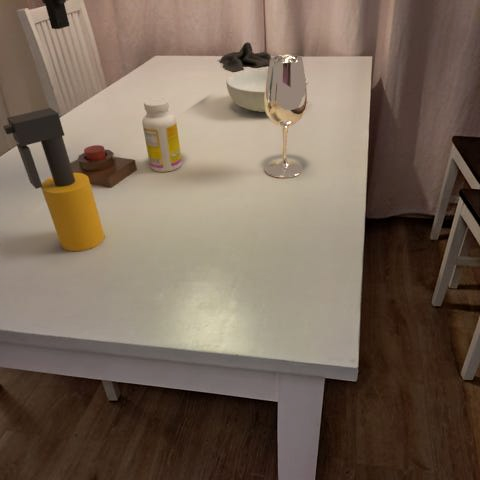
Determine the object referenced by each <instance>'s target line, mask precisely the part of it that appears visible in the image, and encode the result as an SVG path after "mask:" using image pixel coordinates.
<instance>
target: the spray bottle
mask: <svg viewBox="0 0 480 480" xmlns="http://www.w3.org/2000/svg"><path fill="white" fill-rule="evenodd" d="M6 119H7V122H8V124H5V125H3V126H2V127H3V131H4V133H5V134H6V135H10V134H12V137H13V139H14V141H15V142H16V143H17V144H20V145H21V146H25V145H27V146H29V145H33V144H37V143H40V144H41V147H42V149H43V152H44V155H45V159H46V162H47V165H48V167H49V171H50V174H51V176H50V177H49V178H48V177H47V179H45V180H44V181H43V182H41V183H42V186H43V187H41V191H42V194H43V197H44V200H45V203H46V205H47V209H48V211H49V214H50V217H51V220H52V222H53V225H54V229H55V232H56V234H57V237H58V240H59V243H60V246H61V247H62V249H64V250H66V251H69V252H83V251H87V250H91V249H94V248H95V247H97V246H99V245H100V244H101V243H102V242H103V241H104V240H105V233H104V229H103V225H102V222H101V218H100V215H99V211H98V208H97V207H98V206H97V204H96V200H95V196H94V192H93V189H92V185H91V184H90V181H89V178H88V176H87V175H85V174H82V173H73V171H72V168H71V164H70V163H71V161H70V158H69V154H68V150H67V148H66V144H65V141H64V137H63V136H65V132H64V129H63V125H62V121H61V118H60V115H59V112H57V111H55V110H54V109H53V108H51V107H49V108H44V109H43V108H42V109H39V110H35V111H34V110H33V111H31V112H26V113H22V114H18V115H12V116H9V117H6Z"/></svg>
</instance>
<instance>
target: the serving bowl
mask: <svg viewBox="0 0 480 480" xmlns="http://www.w3.org/2000/svg"><path fill="white" fill-rule="evenodd" d="M267 74H268V68H262V69H251V70H246V71H245V70H244V71H241V72H238V73H235V74H232V75H230V76H229V77H228V78H227V79H226V81H225V82H226V83H225V84H226V88H227V92H228V94H229V97H230V98H231V100H232V102H234V103H235V104H236V105H237V106H239V107H240V108H243V109H245V110H249V111H254V112H257V111H258V113H266V111H265V107H264V94H265V86H266V79H267ZM305 80H306V88H308V83H309V79H308V77H307V76H306V75H305Z"/></svg>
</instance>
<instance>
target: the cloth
mask: <svg viewBox="0 0 480 480" xmlns="http://www.w3.org/2000/svg"><path fill="white" fill-rule="evenodd" d="M271 58H272V56H271V54H270V53H269V52H265V51H262V52H255V53H254V52H253V47H252V44H251V43H250V42H248V41H247V42H245V43H243V45H242V47H241V48H240V50H239V51H233V52H230V53H226V54H224V55H223V56H222V57H221V58H220V59H219V62H220V63H221V64H223V65H222V68H223V69H225V70H227V71H230V72H232V73H235V72H240V71H243V70H244V69H245V67H250V68H254V69H256V68H260V67H264V66H269V63H270V59H271Z"/></svg>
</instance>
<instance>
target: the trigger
mask: <svg viewBox="0 0 480 480" xmlns="http://www.w3.org/2000/svg"><path fill="white" fill-rule="evenodd" d="M16 147H17V149H18V152H19V155H20V157H21V161H22V164H23V166H24V169H25V172H26V174H27V178H28V180H29V182H30V185H32V186H33V188H34V189H36V190H37V189H40V188H41V187H43V186H42V183H43V182H42V181H41V178H40V175H39V172H38V169H37V166H36V164H35V160H34V158H33V155H32V152H31V148H30V147H29V145H25V146H21V145H20V144H19V143H17V144H16Z"/></svg>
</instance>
